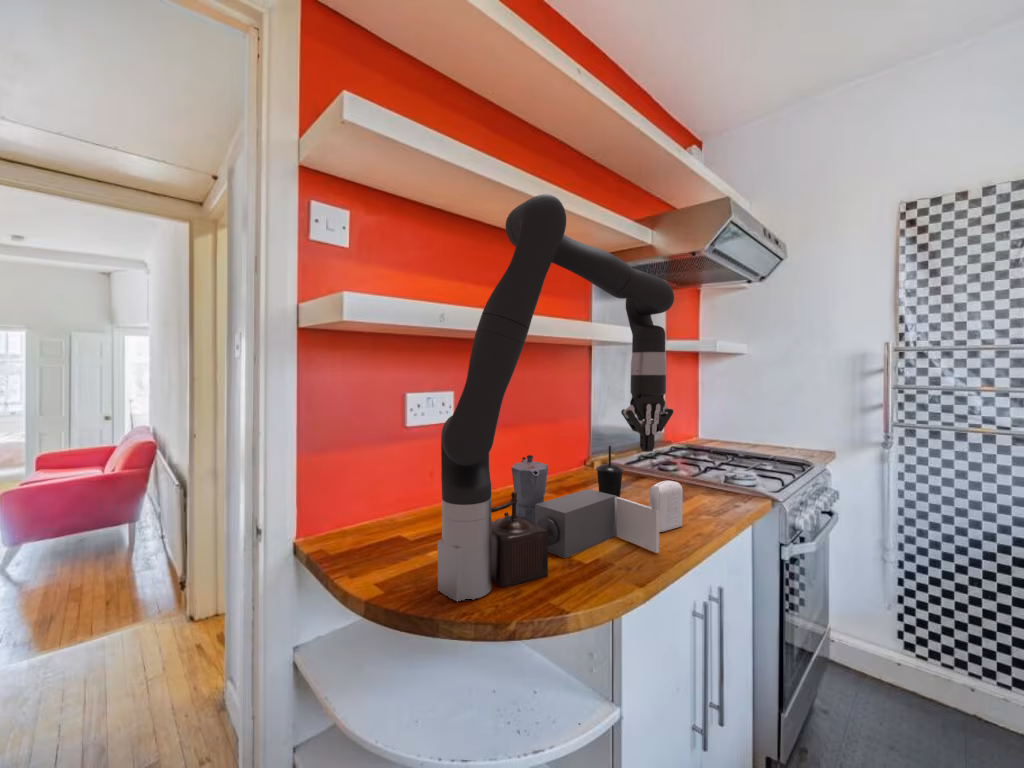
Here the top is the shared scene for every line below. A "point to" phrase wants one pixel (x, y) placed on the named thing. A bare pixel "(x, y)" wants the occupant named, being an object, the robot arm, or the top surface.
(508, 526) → the coffee grinder
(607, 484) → the drinking cup
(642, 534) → the side door
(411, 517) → the top surface
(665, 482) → the photo printer
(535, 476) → the moka pot
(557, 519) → the camera housing
